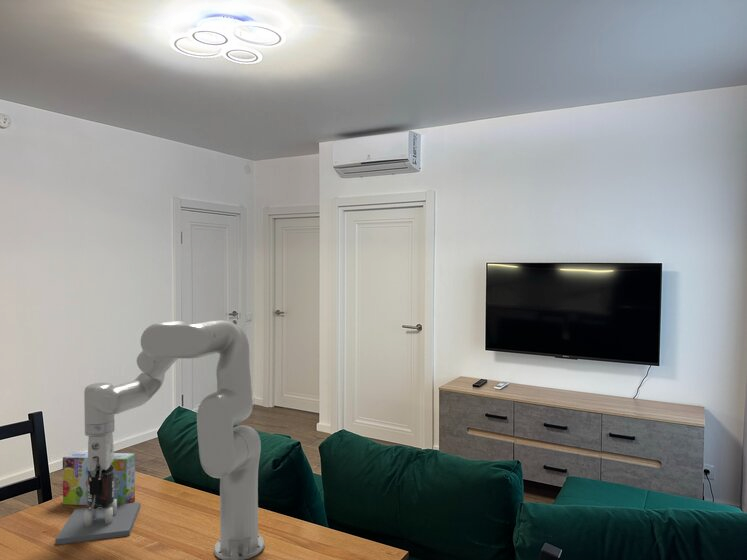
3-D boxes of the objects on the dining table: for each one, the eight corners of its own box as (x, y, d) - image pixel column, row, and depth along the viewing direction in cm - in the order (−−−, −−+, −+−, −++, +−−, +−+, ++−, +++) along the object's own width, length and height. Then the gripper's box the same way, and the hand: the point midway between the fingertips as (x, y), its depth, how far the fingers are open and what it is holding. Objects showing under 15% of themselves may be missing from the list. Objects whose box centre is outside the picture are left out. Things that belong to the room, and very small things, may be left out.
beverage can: (91, 513, 144) (91, 470, 144) (84, 505, 149) (84, 463, 149) (117, 505, 149) (117, 464, 149) (110, 498, 154) (110, 457, 154)
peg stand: (129, 535, 143) (129, 515, 143) (55, 544, 138) (55, 524, 138) (140, 506, 160) (140, 489, 160) (75, 514, 156) (74, 495, 155)
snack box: (136, 500, 165) (135, 452, 165) (126, 508, 160) (125, 459, 159) (73, 497, 167) (72, 450, 167) (61, 505, 162) (60, 456, 162)
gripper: (107, 435, 141) (108, 498, 142) (120, 418, 158) (121, 474, 158) (76, 437, 139) (77, 501, 140) (93, 420, 156) (93, 476, 156)
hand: (100, 487), depth 149 cm, fingers open, 9 cm apart
